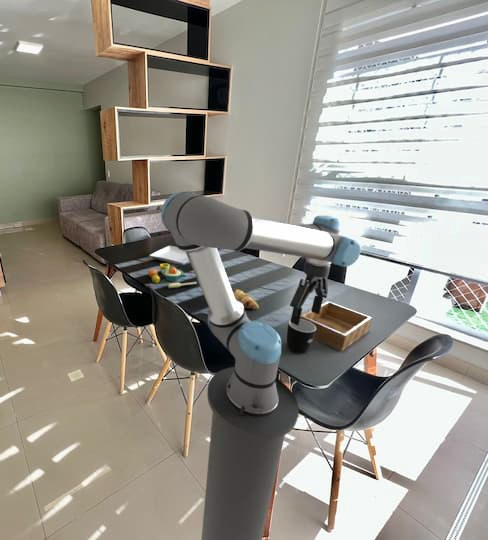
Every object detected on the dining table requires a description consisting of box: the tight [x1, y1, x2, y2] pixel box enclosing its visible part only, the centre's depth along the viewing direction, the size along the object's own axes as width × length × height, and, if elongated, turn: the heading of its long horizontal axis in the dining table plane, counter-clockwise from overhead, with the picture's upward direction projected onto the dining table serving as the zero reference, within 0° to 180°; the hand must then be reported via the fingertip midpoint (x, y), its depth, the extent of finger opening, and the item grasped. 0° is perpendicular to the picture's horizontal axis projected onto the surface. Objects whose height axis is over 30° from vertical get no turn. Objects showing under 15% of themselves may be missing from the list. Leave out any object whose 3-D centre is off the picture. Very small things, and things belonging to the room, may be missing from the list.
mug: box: [286, 319, 316, 355], centre depth 106 cm, size 12×9×10 cm
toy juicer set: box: [148, 262, 198, 289], centre depth 164 cm, size 29×18×8 cm, turn 36°
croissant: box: [232, 288, 259, 310], centre depth 139 cm, size 21×10×8 cm, turn 45°
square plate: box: [149, 245, 190, 266], centre depth 202 cm, size 27×27×4 cm
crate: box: [300, 300, 373, 352], centre depth 116 cm, size 22×17×7 cm
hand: (305, 318), depth 104 cm, fingers open, 13 cm apart
